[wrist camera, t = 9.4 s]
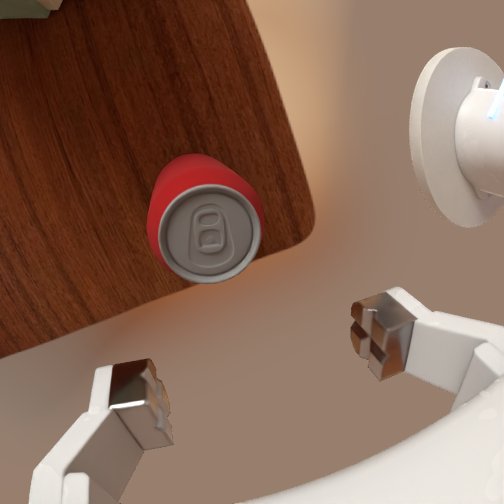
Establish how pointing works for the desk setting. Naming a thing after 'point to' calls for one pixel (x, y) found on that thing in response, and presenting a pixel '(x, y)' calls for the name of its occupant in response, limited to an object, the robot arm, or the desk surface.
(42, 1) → the drawer
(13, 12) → the cabinet
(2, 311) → the desk surface
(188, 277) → the beverage can
